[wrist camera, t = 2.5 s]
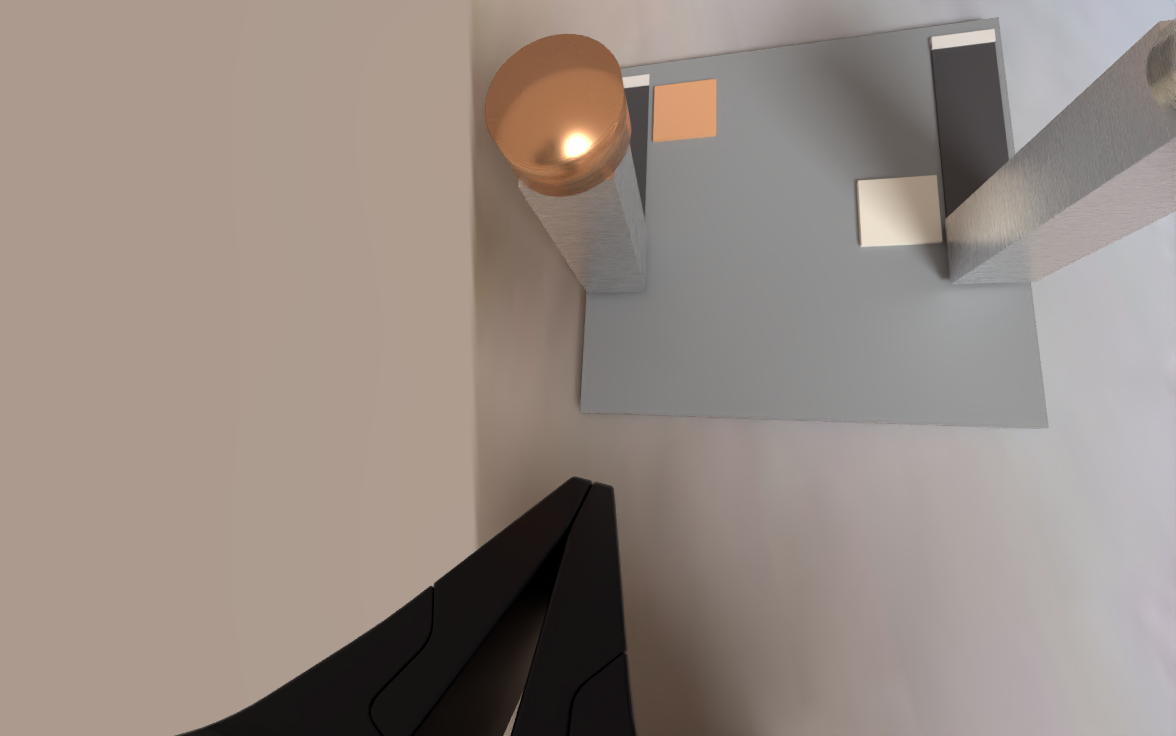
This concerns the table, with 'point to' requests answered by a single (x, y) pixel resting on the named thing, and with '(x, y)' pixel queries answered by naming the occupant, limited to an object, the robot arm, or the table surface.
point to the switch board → (817, 239)
